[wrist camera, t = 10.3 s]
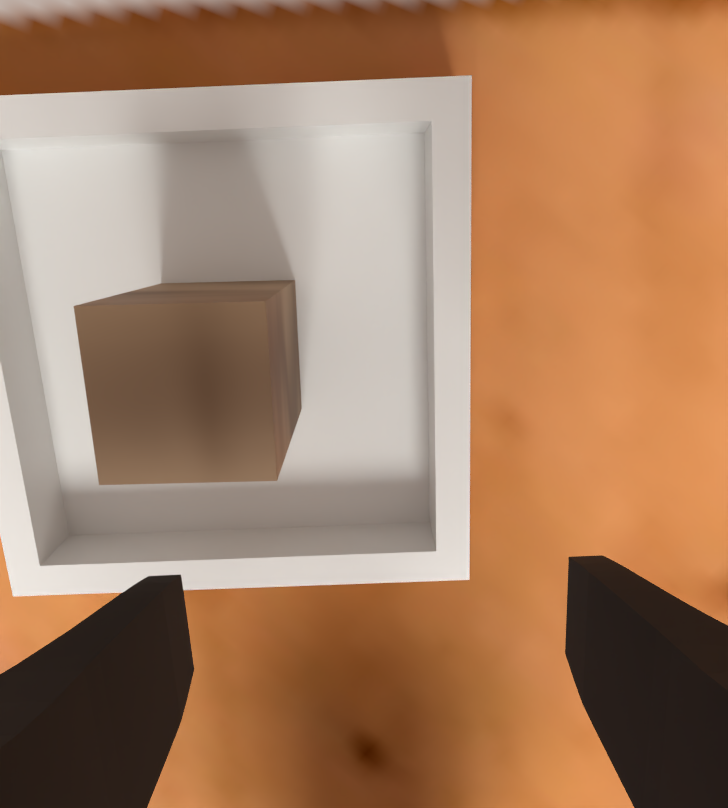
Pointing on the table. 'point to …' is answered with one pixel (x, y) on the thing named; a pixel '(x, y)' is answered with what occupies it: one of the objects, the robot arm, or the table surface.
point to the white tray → (245, 261)
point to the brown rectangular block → (191, 381)
